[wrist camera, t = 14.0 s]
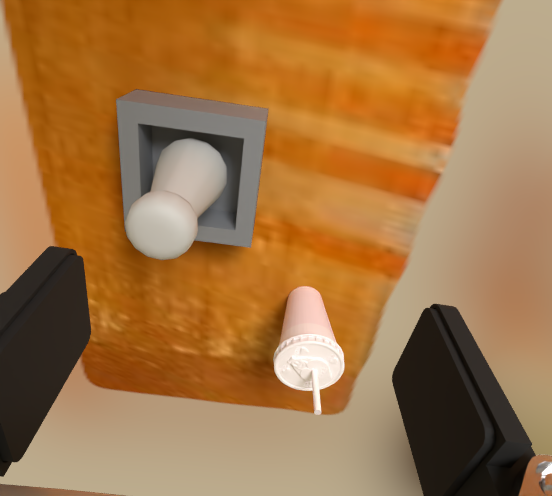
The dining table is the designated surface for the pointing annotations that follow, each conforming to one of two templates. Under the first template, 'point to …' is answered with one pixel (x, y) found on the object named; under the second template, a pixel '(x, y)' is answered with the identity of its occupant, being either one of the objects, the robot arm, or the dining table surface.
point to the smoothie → (307, 346)
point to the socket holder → (202, 126)
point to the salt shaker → (176, 199)
